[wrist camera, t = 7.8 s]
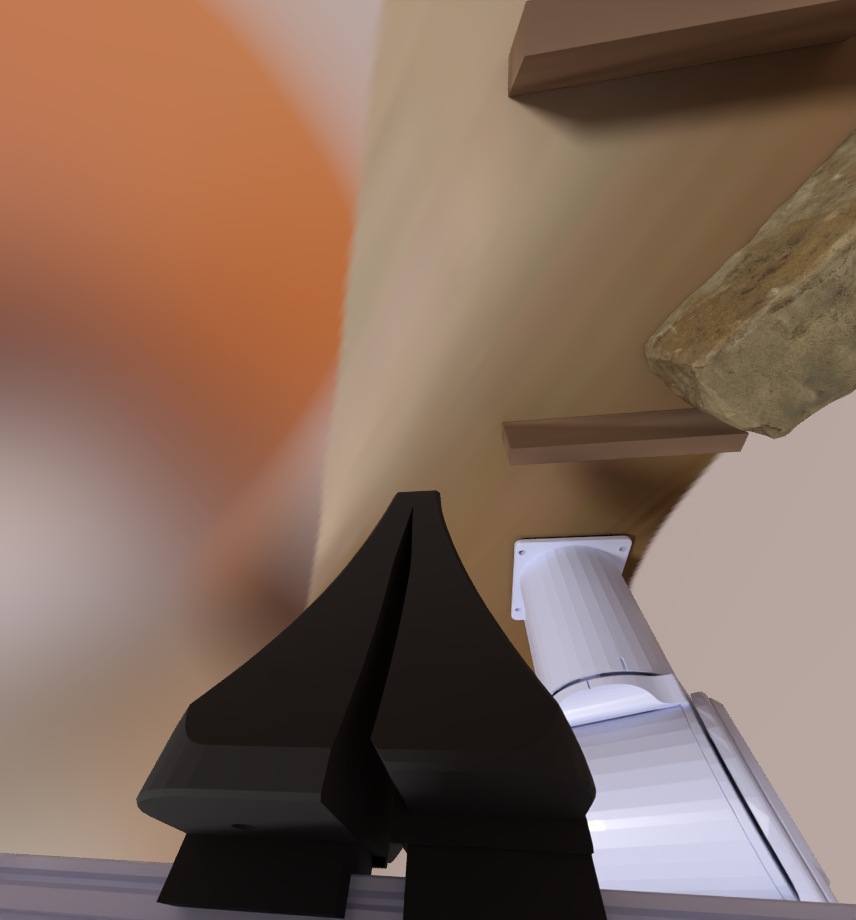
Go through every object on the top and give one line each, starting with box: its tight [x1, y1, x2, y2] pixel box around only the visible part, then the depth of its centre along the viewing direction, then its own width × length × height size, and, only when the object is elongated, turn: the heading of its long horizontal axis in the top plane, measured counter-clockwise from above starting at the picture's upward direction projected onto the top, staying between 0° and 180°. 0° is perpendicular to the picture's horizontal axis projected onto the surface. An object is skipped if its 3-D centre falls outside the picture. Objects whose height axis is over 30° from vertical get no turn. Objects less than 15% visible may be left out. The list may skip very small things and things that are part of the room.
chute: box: [502, 0, 856, 465], centre depth 14 cm, size 15×11×3 cm
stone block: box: [644, 130, 856, 439], centre depth 13 cm, size 6×12×5 cm, turn 148°
